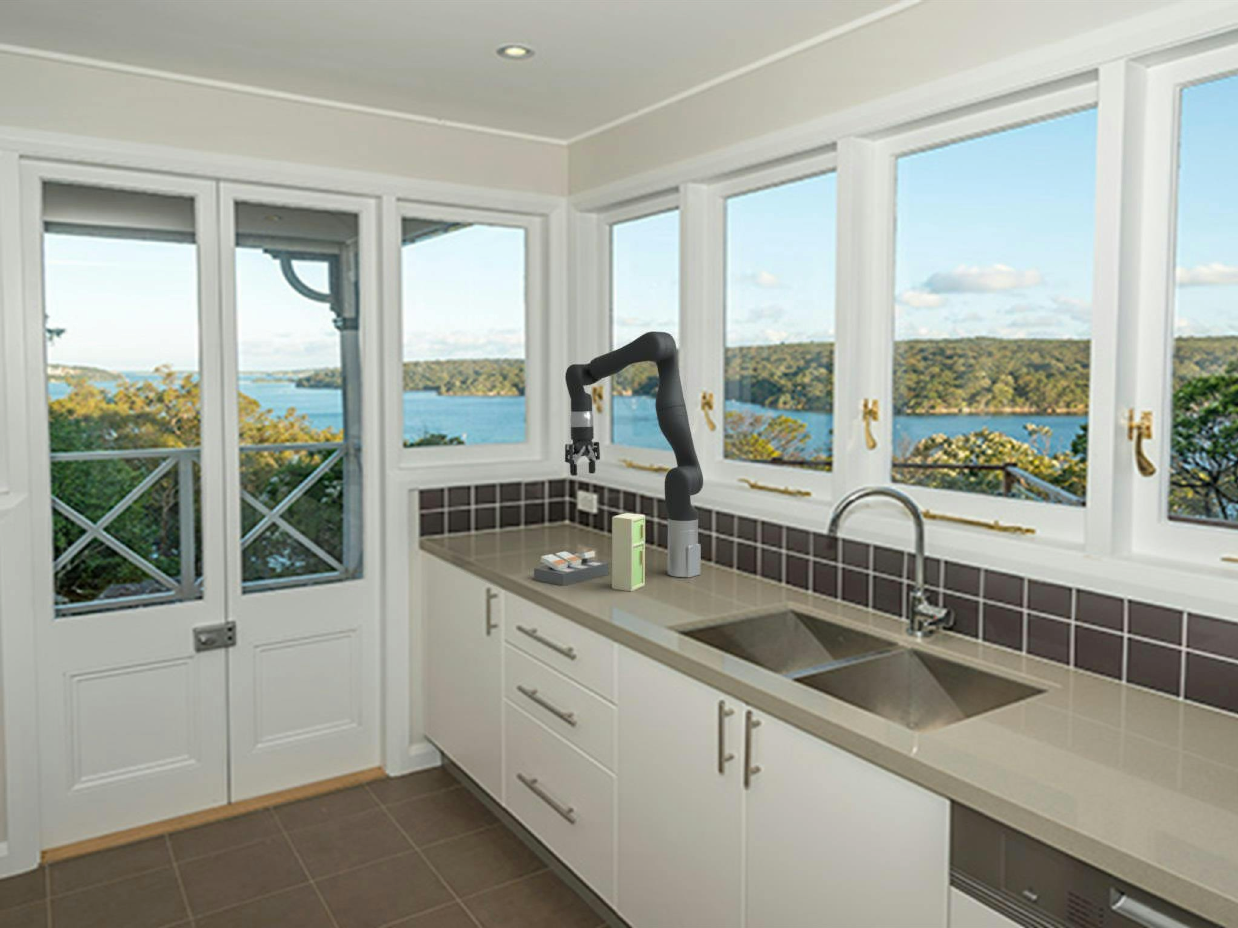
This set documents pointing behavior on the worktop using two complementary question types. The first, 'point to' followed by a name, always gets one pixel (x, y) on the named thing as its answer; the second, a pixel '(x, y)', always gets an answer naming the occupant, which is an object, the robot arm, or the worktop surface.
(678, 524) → the robot arm
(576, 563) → the block
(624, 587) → the toy refrigerator
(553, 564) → the block
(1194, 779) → the worktop surface
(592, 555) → the rocker
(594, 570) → the rocker switch panel
